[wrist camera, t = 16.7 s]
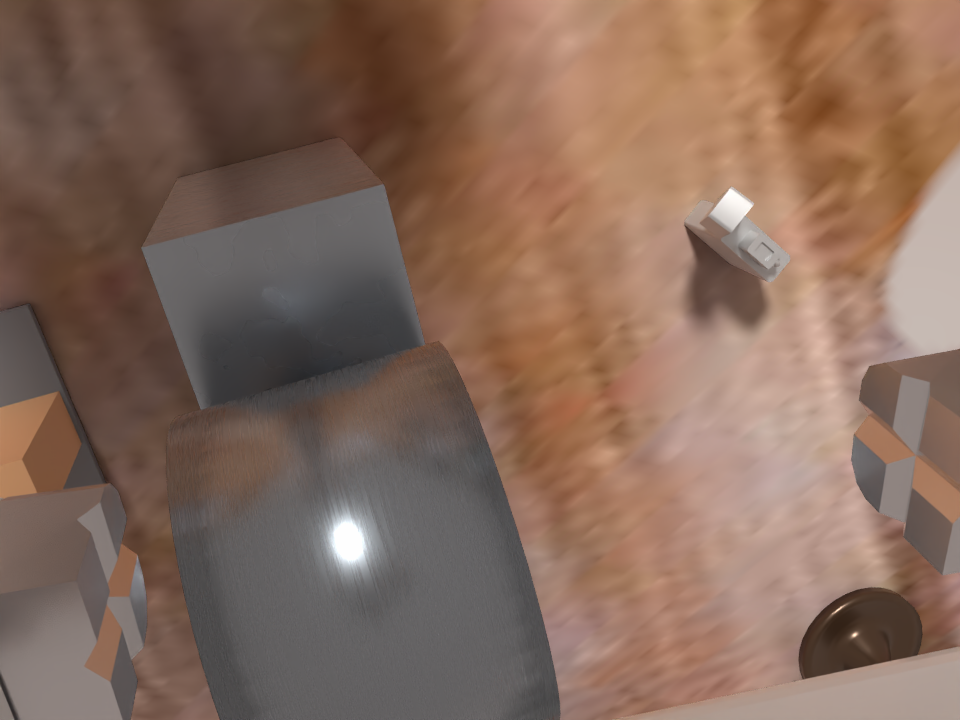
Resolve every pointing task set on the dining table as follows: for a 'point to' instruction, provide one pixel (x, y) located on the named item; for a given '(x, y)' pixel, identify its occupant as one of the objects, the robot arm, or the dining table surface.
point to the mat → (39, 382)
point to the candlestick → (860, 633)
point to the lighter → (737, 235)
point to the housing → (332, 464)
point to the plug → (36, 446)
